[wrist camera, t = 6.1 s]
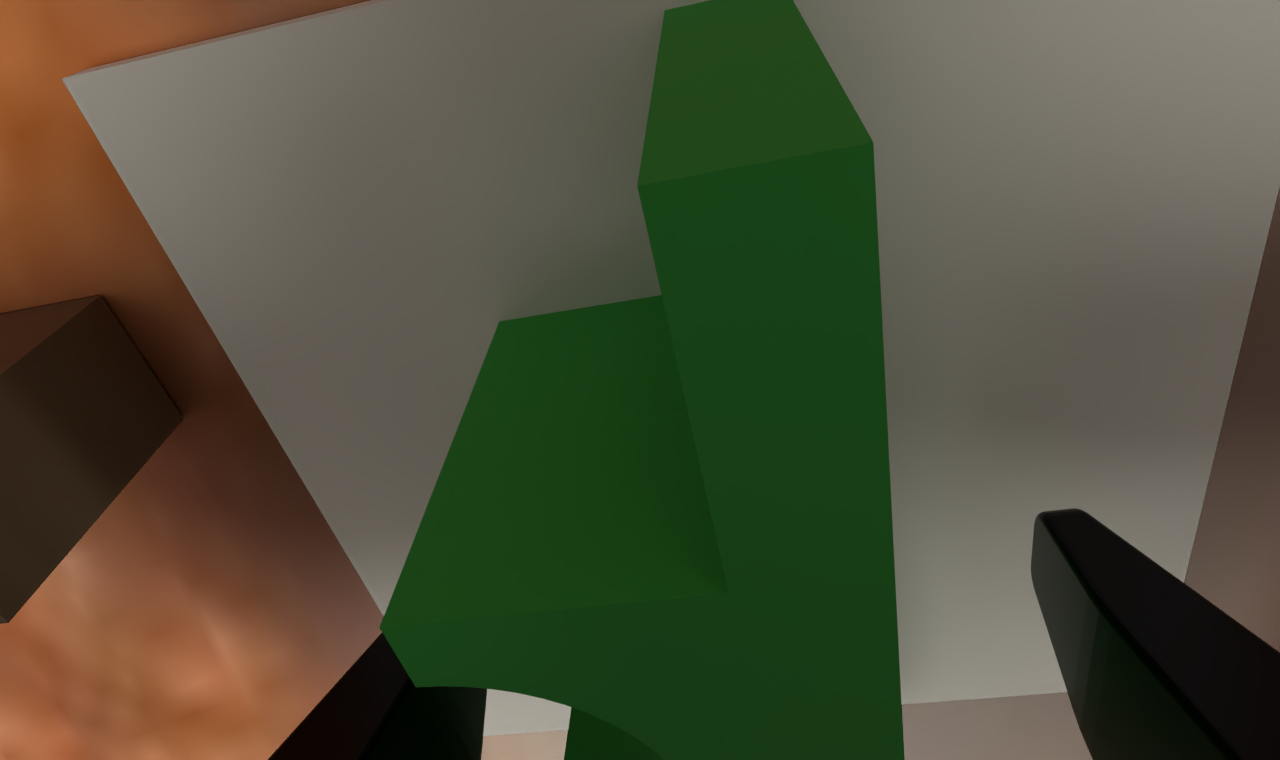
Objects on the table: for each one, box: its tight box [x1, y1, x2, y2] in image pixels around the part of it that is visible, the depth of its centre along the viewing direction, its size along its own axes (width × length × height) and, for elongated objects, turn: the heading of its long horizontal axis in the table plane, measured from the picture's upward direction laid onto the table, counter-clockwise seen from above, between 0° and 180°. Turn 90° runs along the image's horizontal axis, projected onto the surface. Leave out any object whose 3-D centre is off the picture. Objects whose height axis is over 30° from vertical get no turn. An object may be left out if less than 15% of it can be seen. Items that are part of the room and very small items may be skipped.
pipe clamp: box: [380, 0, 904, 760], centre depth 9 cm, size 11×4×5 cm, turn 12°
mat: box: [62, 0, 1280, 736], centre depth 11 cm, size 12×12×1 cm
